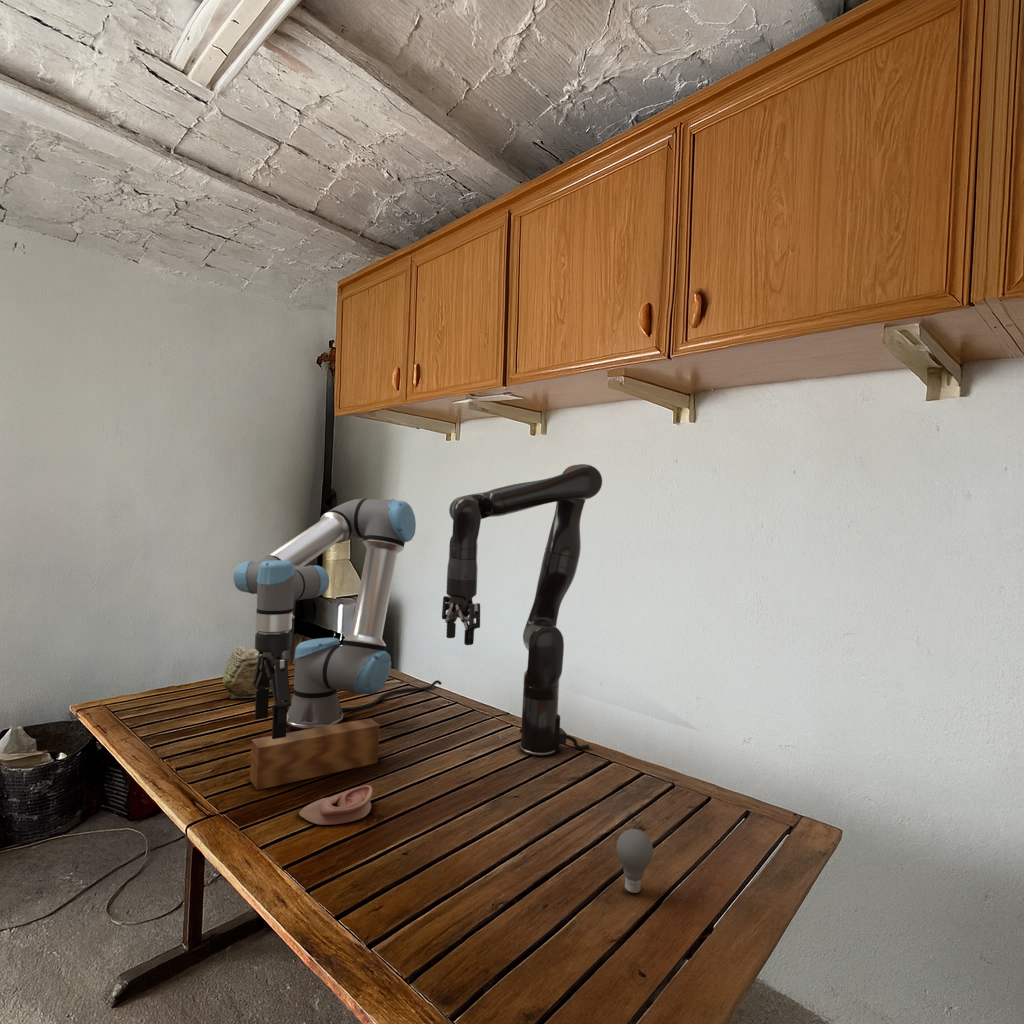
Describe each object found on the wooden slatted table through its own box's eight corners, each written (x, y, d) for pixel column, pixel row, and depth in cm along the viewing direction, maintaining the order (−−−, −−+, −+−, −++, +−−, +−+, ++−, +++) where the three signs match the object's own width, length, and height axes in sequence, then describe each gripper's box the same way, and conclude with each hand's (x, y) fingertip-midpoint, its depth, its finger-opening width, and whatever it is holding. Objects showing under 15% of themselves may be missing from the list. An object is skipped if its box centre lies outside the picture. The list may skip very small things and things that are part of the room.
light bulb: (610, 879, 108) (613, 822, 108) (644, 879, 109) (647, 822, 109) (619, 902, 102) (622, 840, 102) (655, 901, 103) (658, 840, 103)
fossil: (218, 695, 195) (220, 647, 195) (278, 685, 208) (279, 640, 207) (228, 703, 189) (230, 653, 188) (289, 692, 201) (290, 645, 201)
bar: (256, 790, 135) (258, 747, 135) (250, 780, 140) (251, 739, 140) (378, 762, 152) (379, 725, 152) (368, 754, 156) (369, 718, 156)
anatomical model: (291, 800, 123) (320, 775, 134) (290, 820, 123) (320, 794, 134) (354, 810, 120) (379, 784, 132) (353, 830, 121) (378, 803, 132)
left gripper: (309, 641, 131) (305, 743, 131) (274, 620, 151) (271, 708, 151) (272, 644, 127) (268, 750, 127) (241, 622, 147) (237, 713, 147)
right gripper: (490, 579, 154) (487, 645, 154) (460, 572, 165) (457, 634, 166) (464, 580, 150) (461, 649, 150) (434, 573, 161) (432, 637, 161)
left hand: (269, 727), depth 139 cm, fingers open, 13 cm apart
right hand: (459, 641), depth 158 cm, fingers open, 8 cm apart
